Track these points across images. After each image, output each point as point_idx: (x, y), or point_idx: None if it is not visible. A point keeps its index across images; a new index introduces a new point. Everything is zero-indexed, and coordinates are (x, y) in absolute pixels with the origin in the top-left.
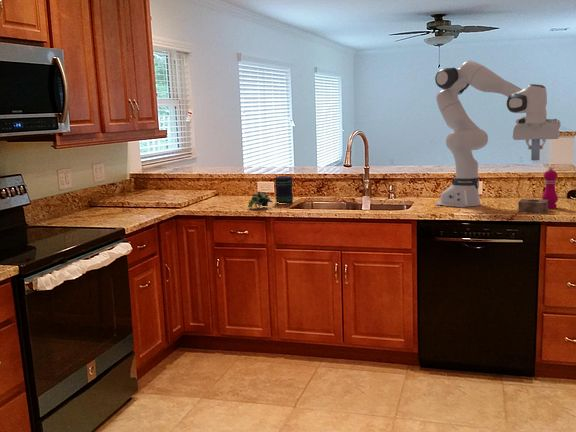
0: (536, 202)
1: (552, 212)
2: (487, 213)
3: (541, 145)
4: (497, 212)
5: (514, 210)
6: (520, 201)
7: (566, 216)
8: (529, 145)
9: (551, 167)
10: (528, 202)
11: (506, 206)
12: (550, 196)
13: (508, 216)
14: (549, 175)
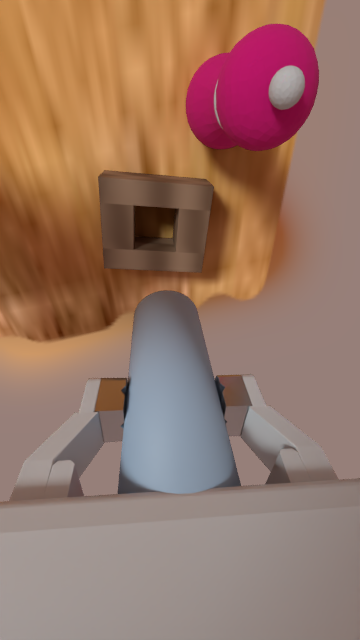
0: (169, 269)
1: (218, 231)
2: (19, 292)
3: (241, 436)
4: (42, 267)
5: (86, 212)
6: (109, 255)
7: (250, 292)
8: (102, 443)
9: (295, 98)
10: (141, 269)
11: (19, 92)
12: (227, 146)
13: (96, 325)
14: (252, 149)
